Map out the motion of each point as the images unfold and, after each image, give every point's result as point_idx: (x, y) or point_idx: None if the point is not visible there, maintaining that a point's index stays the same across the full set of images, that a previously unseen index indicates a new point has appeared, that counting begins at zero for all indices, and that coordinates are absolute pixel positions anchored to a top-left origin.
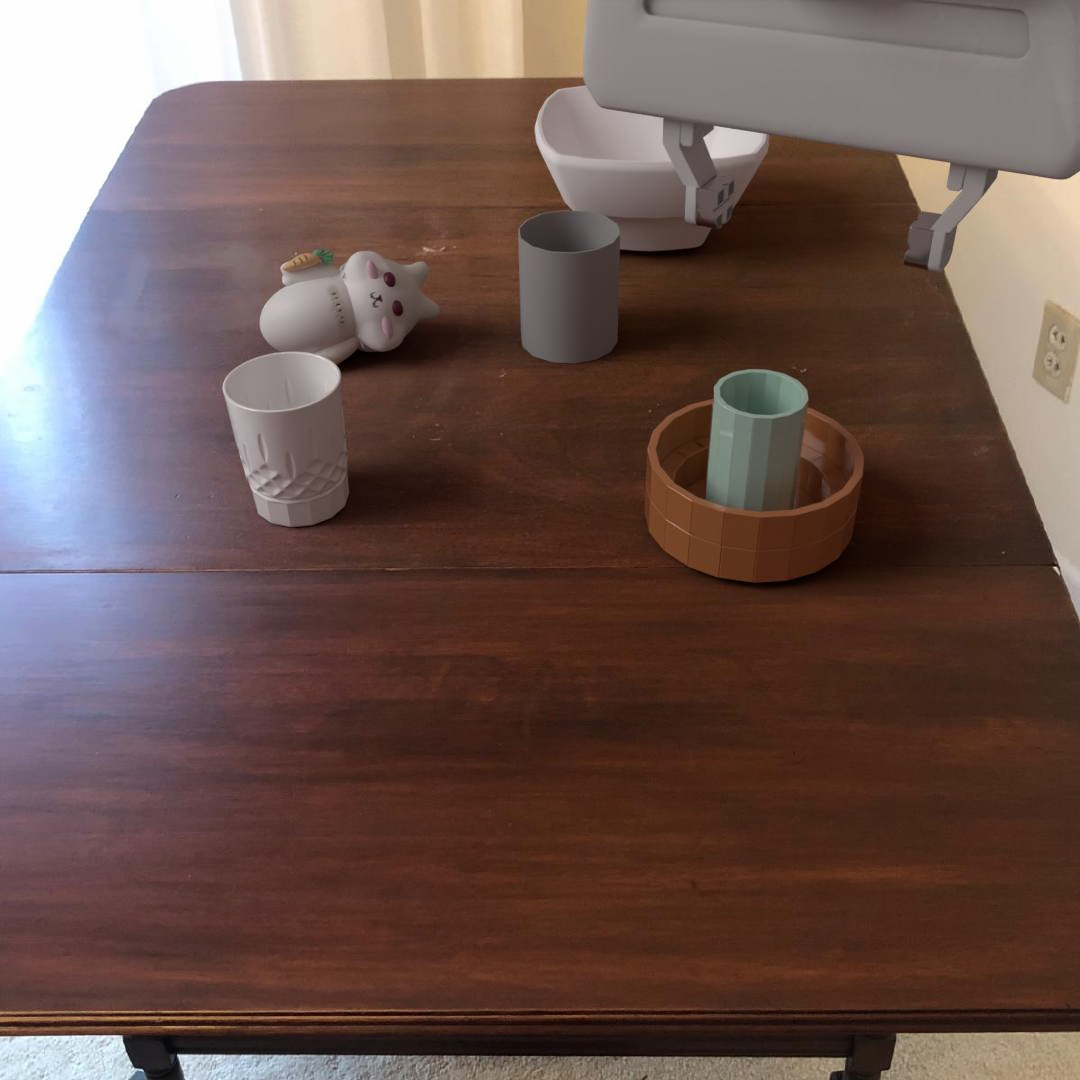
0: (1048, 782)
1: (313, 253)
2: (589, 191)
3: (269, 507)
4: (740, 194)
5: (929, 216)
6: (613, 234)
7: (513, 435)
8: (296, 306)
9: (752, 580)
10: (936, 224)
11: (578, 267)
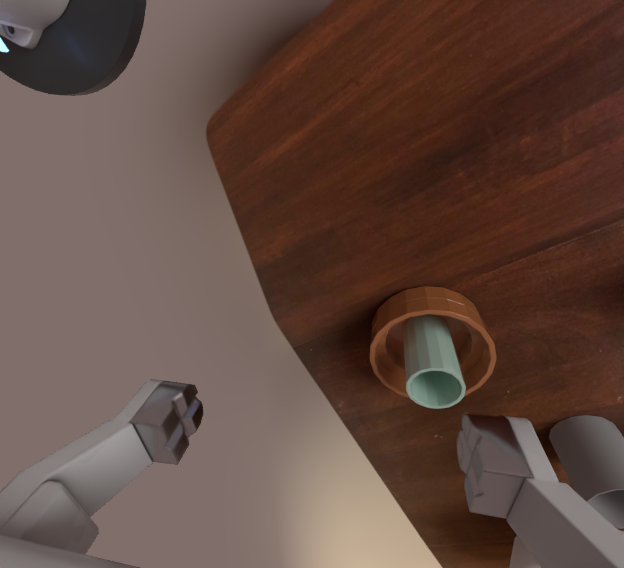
0: (249, 233)
1: None
2: None
3: None
4: (513, 547)
5: (160, 454)
6: None
7: (591, 352)
8: None
9: (405, 290)
10: (119, 431)
11: (604, 479)
